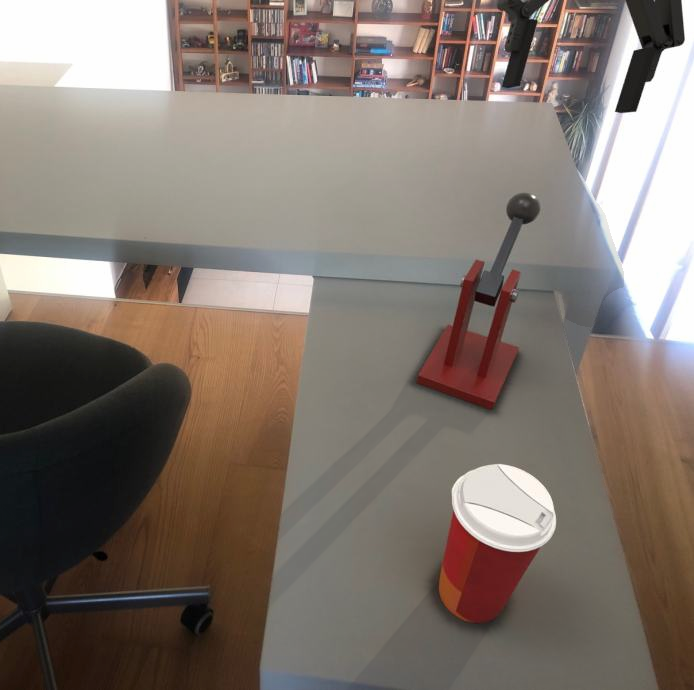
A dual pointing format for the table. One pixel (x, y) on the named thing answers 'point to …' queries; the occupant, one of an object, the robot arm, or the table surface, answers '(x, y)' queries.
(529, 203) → the lever
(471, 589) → the paper cup
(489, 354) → the bracket
